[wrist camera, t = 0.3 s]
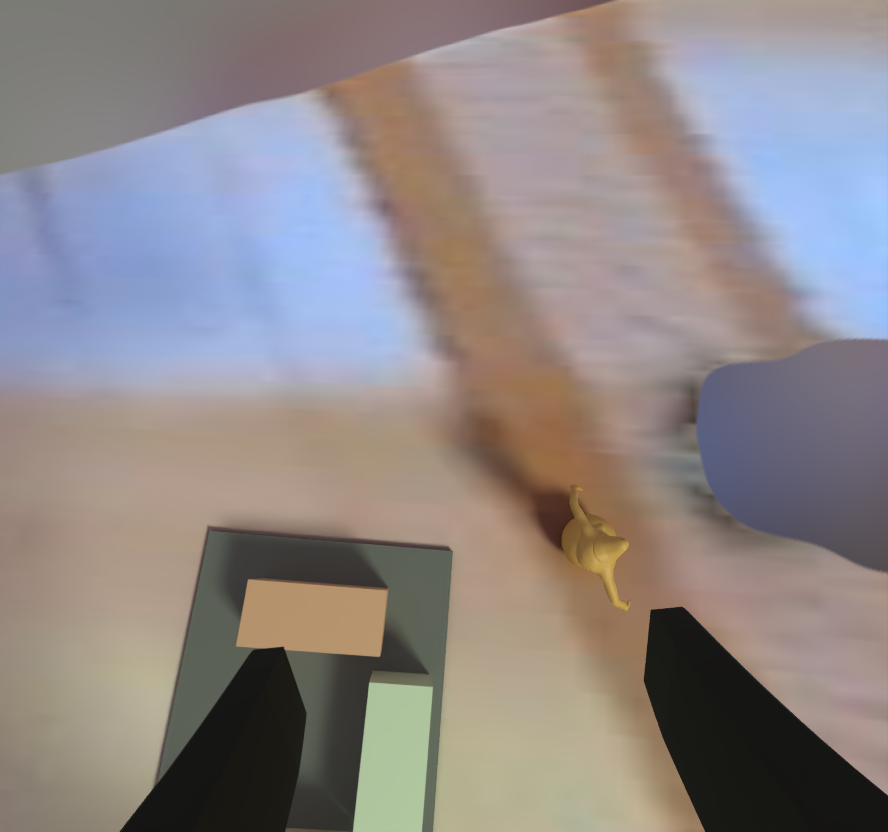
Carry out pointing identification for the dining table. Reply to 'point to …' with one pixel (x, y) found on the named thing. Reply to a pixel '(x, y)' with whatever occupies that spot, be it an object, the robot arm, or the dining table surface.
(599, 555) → the figurine
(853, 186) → the dining table surface
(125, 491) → the dining table surface
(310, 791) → the mat
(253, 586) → the tan rectangular block
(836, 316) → the dining table surface
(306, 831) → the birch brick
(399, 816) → the sage brick
